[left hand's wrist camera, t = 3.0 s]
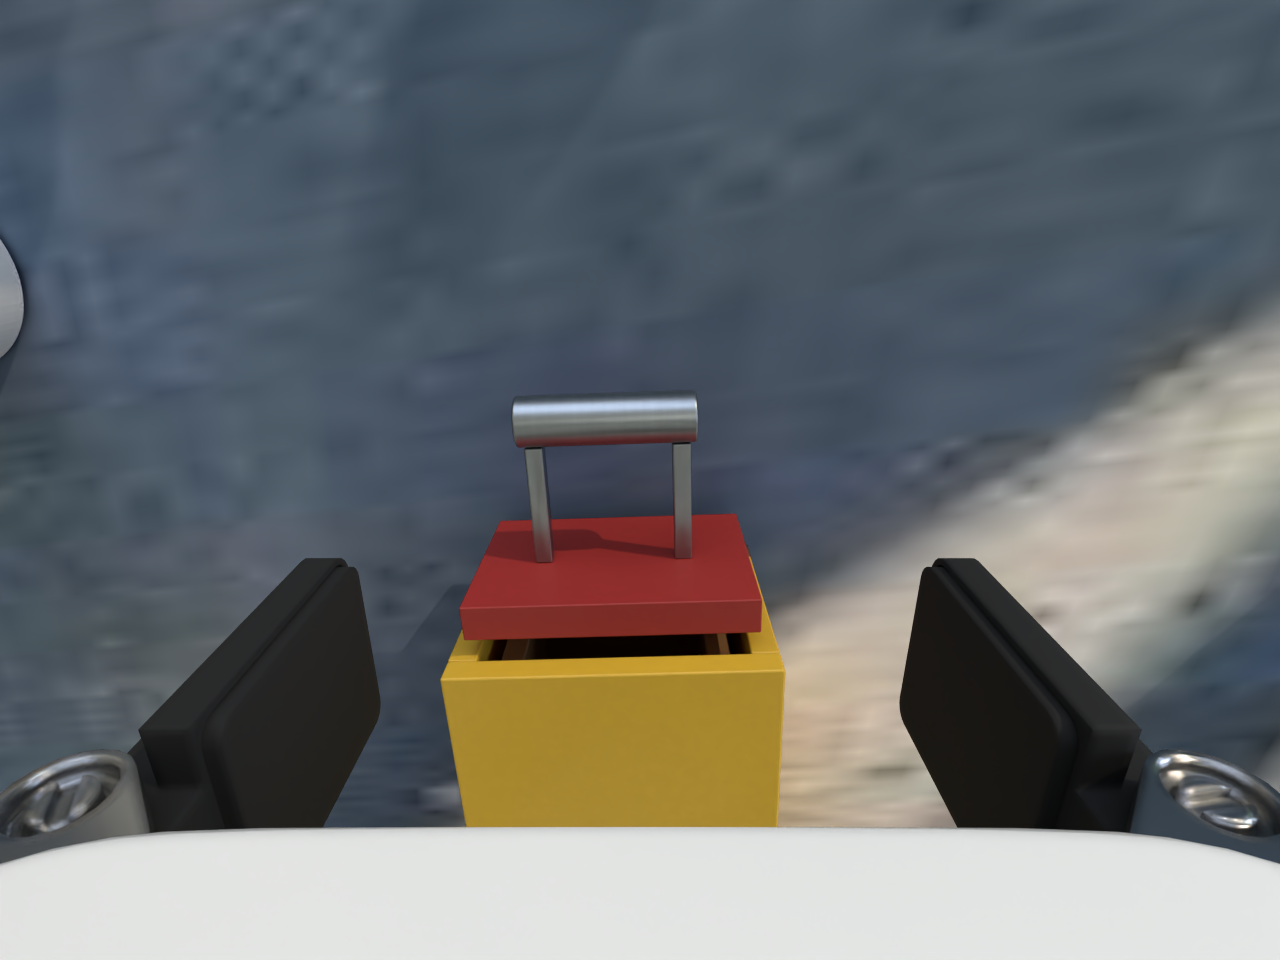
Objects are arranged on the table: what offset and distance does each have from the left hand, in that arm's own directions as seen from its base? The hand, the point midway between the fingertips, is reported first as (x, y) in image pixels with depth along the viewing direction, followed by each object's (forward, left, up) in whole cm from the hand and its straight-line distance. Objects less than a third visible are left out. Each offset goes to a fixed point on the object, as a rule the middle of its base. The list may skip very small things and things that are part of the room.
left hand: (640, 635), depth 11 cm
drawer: (-9, +6, -15) cm, 18 cm away
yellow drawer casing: (-14, +8, -16) cm, 22 cm away
